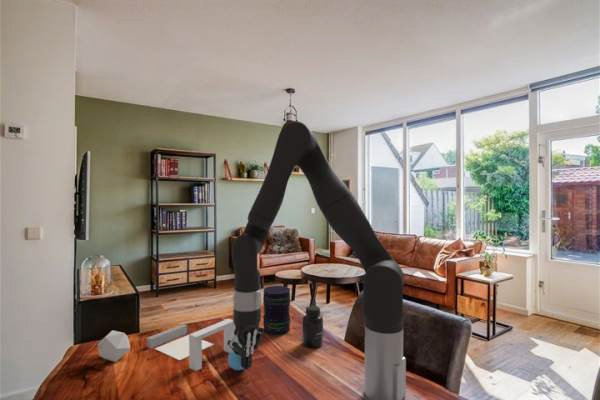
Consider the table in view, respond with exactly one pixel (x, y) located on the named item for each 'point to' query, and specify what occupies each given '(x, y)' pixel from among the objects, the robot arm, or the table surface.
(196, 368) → the bridge
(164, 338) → the wall
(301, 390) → the table surface
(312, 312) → the supplement bottle
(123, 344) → the die
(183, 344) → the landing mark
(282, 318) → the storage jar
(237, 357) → the ball
